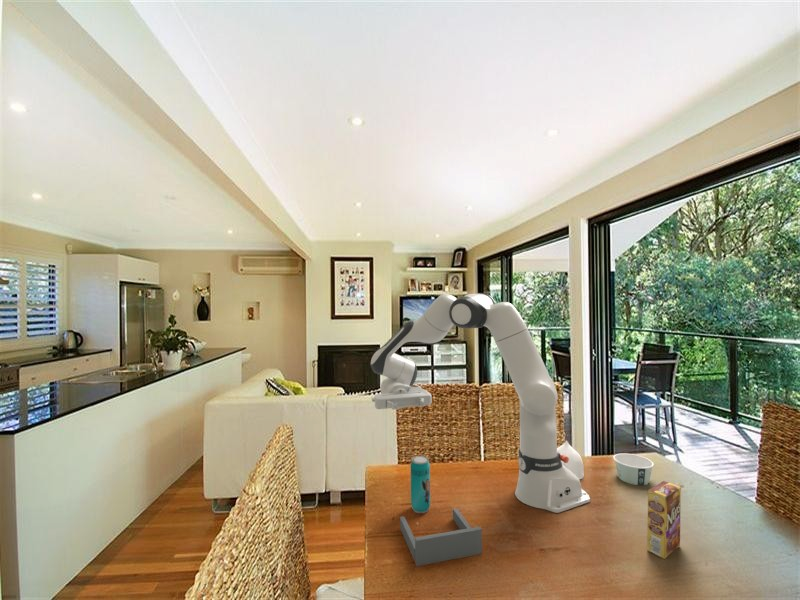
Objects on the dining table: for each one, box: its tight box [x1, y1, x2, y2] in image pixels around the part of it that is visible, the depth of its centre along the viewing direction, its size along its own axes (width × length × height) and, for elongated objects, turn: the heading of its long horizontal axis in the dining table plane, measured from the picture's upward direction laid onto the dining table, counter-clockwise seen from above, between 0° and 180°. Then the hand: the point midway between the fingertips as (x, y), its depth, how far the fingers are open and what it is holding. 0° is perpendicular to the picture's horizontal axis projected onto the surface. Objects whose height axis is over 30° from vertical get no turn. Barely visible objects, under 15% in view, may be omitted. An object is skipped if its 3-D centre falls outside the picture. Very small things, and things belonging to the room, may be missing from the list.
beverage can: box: [410, 455, 431, 514], centre depth 113 cm, size 6×6×15 cm
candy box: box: [646, 480, 682, 560], centre depth 94 cm, size 9×4×15 cm, turn 123°
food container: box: [612, 453, 655, 486], centre depth 131 cm, size 12×12×6 cm
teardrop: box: [557, 440, 585, 480], centre depth 136 cm, size 11×11×12 cm
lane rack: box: [399, 507, 483, 567], centre depth 98 cm, size 17×16×6 cm
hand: (408, 405), depth 125 cm, fingers open, 8 cm apart
